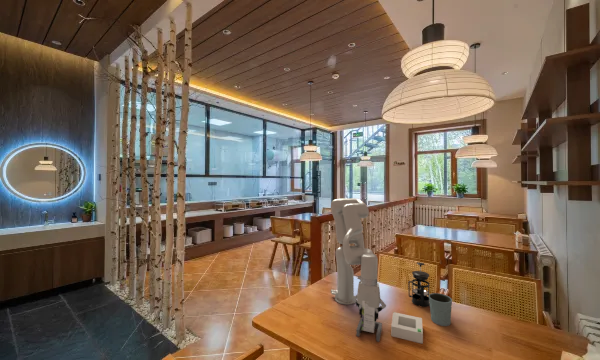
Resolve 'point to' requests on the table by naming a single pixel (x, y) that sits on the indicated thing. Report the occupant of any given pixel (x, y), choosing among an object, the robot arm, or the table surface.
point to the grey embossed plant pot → (440, 308)
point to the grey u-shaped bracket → (377, 326)
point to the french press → (419, 288)
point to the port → (407, 327)
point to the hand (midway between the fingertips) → (368, 317)
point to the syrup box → (368, 317)
